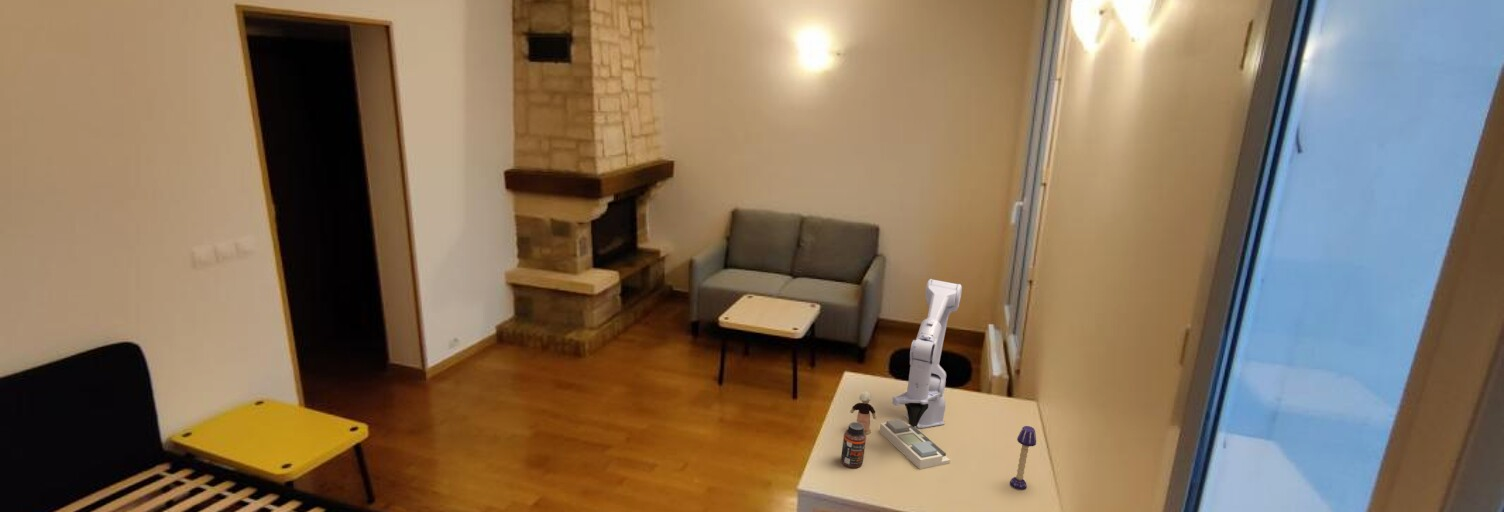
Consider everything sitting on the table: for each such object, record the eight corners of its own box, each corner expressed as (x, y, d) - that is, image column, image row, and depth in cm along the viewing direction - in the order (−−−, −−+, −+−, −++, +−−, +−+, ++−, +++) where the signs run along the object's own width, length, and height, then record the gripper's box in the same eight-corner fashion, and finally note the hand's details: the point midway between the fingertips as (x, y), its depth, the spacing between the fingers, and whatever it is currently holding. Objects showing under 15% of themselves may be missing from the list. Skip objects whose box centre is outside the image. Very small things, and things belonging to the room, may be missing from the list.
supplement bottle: (848, 470, 188) (853, 433, 184) (836, 459, 193) (840, 422, 189) (867, 466, 190) (871, 428, 187) (854, 454, 195) (858, 418, 192)
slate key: (925, 445, 197) (926, 441, 197) (936, 454, 193) (937, 450, 193) (911, 448, 196) (912, 443, 195) (921, 457, 191) (922, 453, 191)
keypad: (907, 427, 212) (908, 418, 211) (949, 463, 194) (951, 454, 194) (879, 431, 208) (880, 423, 208) (919, 469, 191) (920, 460, 190)
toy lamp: (1005, 479, 189) (1016, 423, 184) (1022, 479, 189) (1033, 423, 184) (1013, 489, 184) (1024, 433, 179) (1030, 490, 184) (1042, 433, 180)
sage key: (911, 438, 203) (912, 433, 203) (921, 446, 199) (922, 442, 199) (897, 440, 202) (898, 436, 201) (907, 449, 197) (908, 444, 197)
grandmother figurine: (873, 429, 210) (878, 390, 206) (874, 435, 206) (879, 396, 202) (848, 426, 210) (852, 387, 207) (848, 432, 207) (852, 393, 203)
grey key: (899, 423, 209) (900, 418, 208) (909, 431, 205) (909, 426, 204) (886, 425, 207) (886, 421, 207) (895, 433, 203) (895, 429, 202)
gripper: (905, 390, 189) (899, 435, 192) (949, 384, 194) (942, 428, 198) (890, 379, 195) (885, 423, 199) (934, 373, 200) (927, 416, 204)
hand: (912, 424), depth 199 cm, fingers closed
